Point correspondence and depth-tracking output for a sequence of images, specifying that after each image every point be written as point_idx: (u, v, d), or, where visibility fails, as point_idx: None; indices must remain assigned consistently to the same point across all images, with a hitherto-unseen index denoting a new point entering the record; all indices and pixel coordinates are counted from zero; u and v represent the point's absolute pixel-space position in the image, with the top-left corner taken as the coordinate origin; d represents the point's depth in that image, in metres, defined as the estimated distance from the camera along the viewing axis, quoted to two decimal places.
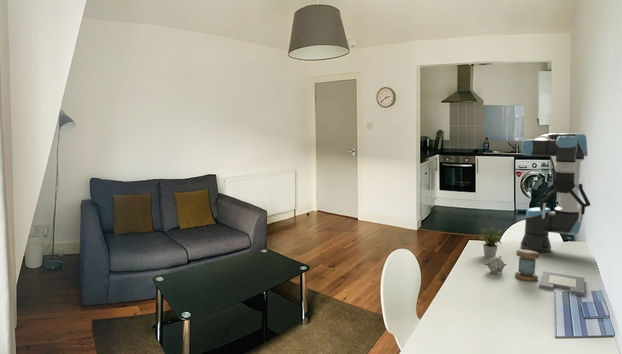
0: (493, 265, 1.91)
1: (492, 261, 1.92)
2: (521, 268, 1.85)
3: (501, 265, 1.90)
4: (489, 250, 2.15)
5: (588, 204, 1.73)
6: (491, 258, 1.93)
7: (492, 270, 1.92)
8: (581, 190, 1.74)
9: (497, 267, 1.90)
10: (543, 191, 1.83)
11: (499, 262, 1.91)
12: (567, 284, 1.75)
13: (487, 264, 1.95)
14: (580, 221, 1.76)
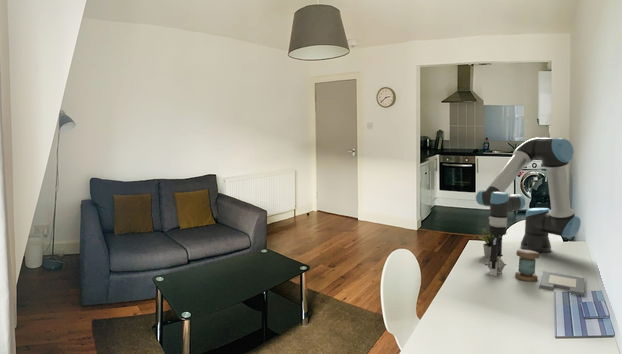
0: None
1: None
2: (521, 268, 1.85)
3: (501, 265, 1.90)
4: (489, 250, 2.15)
5: (490, 259, 1.88)
6: None
7: None
8: None
9: (497, 267, 1.90)
10: None
11: (499, 262, 1.90)
12: (567, 284, 1.75)
13: (487, 264, 1.94)
14: (490, 274, 1.90)
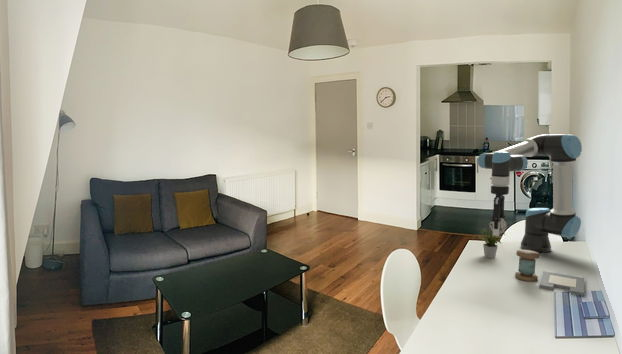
0: None
1: None
2: (521, 268, 1.85)
3: (503, 225, 1.88)
4: (489, 250, 2.15)
5: None
6: None
7: None
8: None
9: None
10: None
11: (502, 222, 1.88)
12: (567, 284, 1.75)
13: (489, 225, 1.92)
14: (493, 234, 1.88)
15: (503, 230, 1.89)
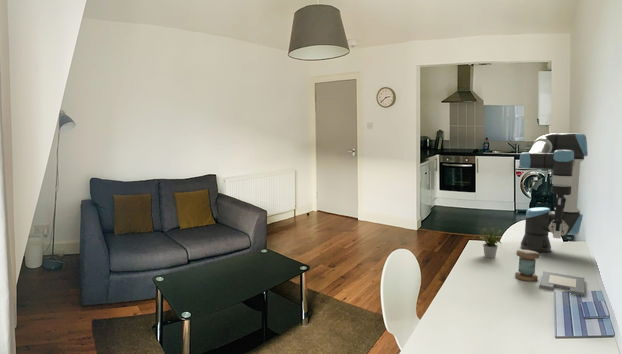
0: None
1: None
2: (521, 268, 1.85)
3: (565, 227, 1.79)
4: (489, 250, 2.15)
5: None
6: None
7: None
8: (555, 205, 1.77)
9: (561, 230, 1.78)
10: None
11: (563, 224, 1.79)
12: (567, 284, 1.75)
13: (549, 227, 1.83)
14: (554, 237, 1.79)
15: (564, 232, 1.80)
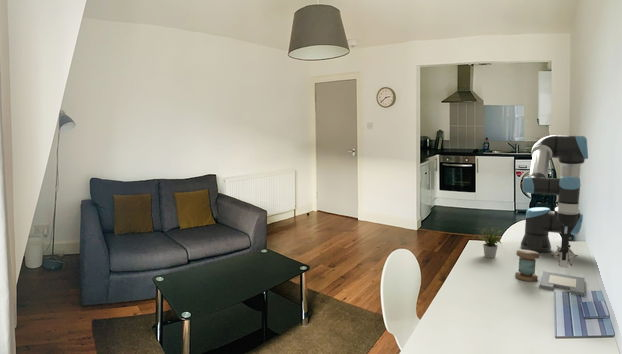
0: None
1: None
2: (521, 268, 1.85)
3: (572, 256, 1.74)
4: (489, 250, 2.15)
5: None
6: (559, 249, 1.77)
7: None
8: (562, 234, 1.72)
9: None
10: None
11: (570, 253, 1.74)
12: (567, 284, 1.75)
13: (555, 255, 1.78)
14: (560, 266, 1.74)
15: (571, 261, 1.75)
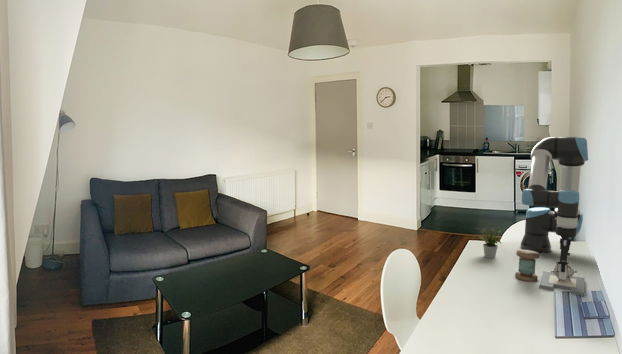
0: None
1: None
2: (521, 268, 1.85)
3: (571, 272, 1.76)
4: (489, 250, 2.15)
5: None
6: None
7: None
8: (561, 246, 1.72)
9: (567, 275, 1.75)
10: None
11: (569, 269, 1.76)
12: (567, 284, 1.75)
13: (554, 271, 1.79)
14: (559, 277, 1.73)
15: (570, 277, 1.76)
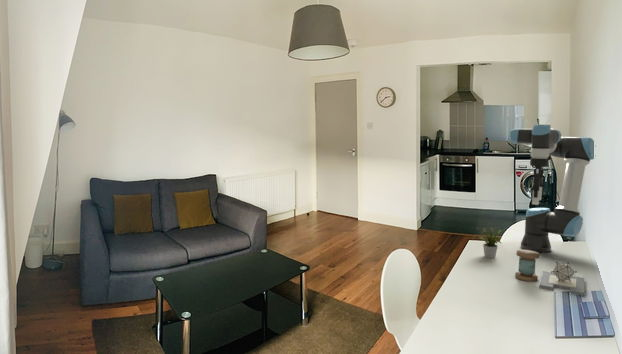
0: (562, 273, 1.76)
1: (560, 268, 1.77)
2: (521, 268, 1.85)
3: (571, 272, 1.76)
4: (489, 250, 2.15)
5: None
6: (559, 265, 1.78)
7: (560, 278, 1.77)
8: (534, 174, 1.89)
9: (567, 275, 1.75)
10: None
11: (569, 269, 1.76)
12: (567, 284, 1.75)
13: (554, 271, 1.79)
14: (532, 203, 1.90)
15: (570, 277, 1.76)
